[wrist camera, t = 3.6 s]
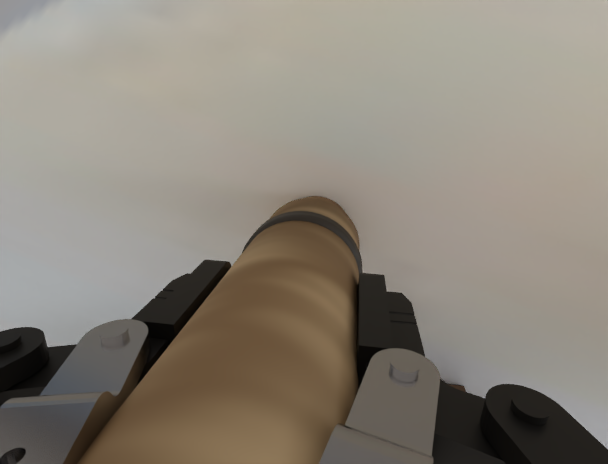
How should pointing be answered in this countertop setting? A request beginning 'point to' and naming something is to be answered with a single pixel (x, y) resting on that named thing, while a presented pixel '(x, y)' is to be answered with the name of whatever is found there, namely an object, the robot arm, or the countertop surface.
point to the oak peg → (255, 355)
